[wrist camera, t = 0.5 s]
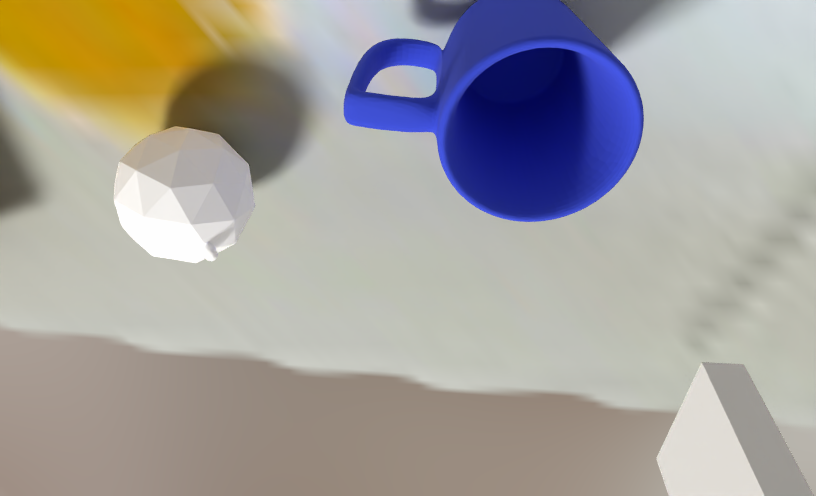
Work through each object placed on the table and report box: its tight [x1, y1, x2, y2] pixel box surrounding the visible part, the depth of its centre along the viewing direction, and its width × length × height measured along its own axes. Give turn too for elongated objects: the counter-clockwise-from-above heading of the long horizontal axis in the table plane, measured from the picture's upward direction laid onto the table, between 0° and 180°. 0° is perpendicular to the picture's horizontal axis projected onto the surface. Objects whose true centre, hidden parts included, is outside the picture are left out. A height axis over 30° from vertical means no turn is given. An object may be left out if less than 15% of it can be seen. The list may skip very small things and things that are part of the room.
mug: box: [344, 0, 644, 222], centre depth 31 cm, size 8×12×10 cm
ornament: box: [114, 126, 255, 263], centre depth 37 cm, size 7×7×8 cm
